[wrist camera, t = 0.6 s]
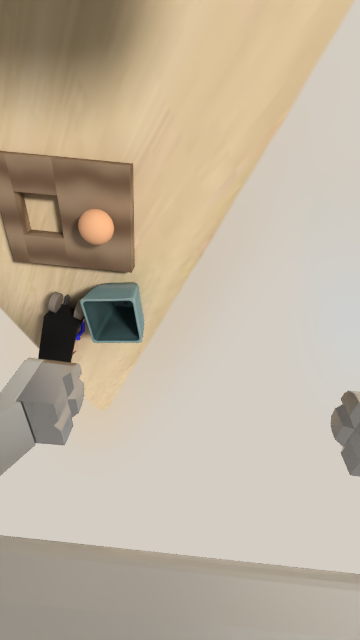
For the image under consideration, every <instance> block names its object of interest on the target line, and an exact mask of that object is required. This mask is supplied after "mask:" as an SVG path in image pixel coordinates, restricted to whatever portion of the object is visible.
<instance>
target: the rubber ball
mask: <svg viewBox="0 0 360 640" xmlns="http://www.w3.org/2000/svg"><path fill="white" fill-rule="evenodd" d="M78 229H79V232H80V234H81V236H82V237H83V239H84V240H86V241H87V242H89V243H91V244H94V245H101V244H104V243H106V242H108V241H109V240H110V239H111V237H112V235H113V232H114V224H113V221H112V219H111V217H110V216H109V215H108V214H107V213H106V212H104V211H102V210H99V209H90V210H87V211H86V212H84V213H83V214H82V215H81V217H80V219H79V222H78Z"/></svg>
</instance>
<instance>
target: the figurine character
mask: <svg viewBox="0 0 360 640" xmlns="http://www.w3.org/2000/svg"><path fill="white" fill-rule="evenodd" d="M69 298H70V297H69V295H66V296H65V300H64V304H62V301H63V294H61V293H58V292H54V293H53V294H52V296H51V298H50V300H49V304H48V310H49V311H48V313H47V314H46V315H45V316H44V320H43V328H42V335H41V343H40V350H39V358H38V359H43V360H54V361H62V362H69V363H71V359H72V355H73V354H74V353H75V351H76V350H77V341H76V340H80V336H81V335H82V333H83V332H84V331H85V326H84V321H85V316H84V313H83V310H82V307H81V304H80V300H81V299H80V300H79V301H78V303H77V305H76V308H73V307H70V306H68V303H69ZM80 325H81V331H80V332H79V333H78V334H77V332H78V328H79V326H80Z"/></svg>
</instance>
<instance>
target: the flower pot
mask: <svg viewBox="0 0 360 640" xmlns="http://www.w3.org/2000/svg"><path fill="white" fill-rule="evenodd" d="M125 301H127V303H125ZM80 304H81V307H82V310H83V313H84V316H85V319H86V322H87V325H88V328H89V332H90V335H91V339H92V341H93V342H94V343H139V342H142V338H143V329H144V316H143V310H142V304H141V299H140V293H139V287H138V284H136V283H133V282H131V283H106V284H101V285H98V286H96V287H94V288H93V289H92V290H91V291H89V292H88V293H87V294H86V295H85V296H84V297H83V298H82V299H81V300H80Z"/></svg>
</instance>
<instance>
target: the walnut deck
mask: <svg viewBox="0 0 360 640" xmlns="http://www.w3.org/2000/svg"><path fill="white" fill-rule="evenodd" d="M23 192H26V193H37V194H47V195H57V198H58V204H59V211H60V217H61V223H62V230H63V233H59V232H49V231H38V230H31V227H30V222H29V218H28V213H27V209H26V204H25V200H24V195H23ZM90 209H99V210H102V211H104V212H106V213H107V214H108V215H109V216H110V217H111V219H112V221H113V224H114V232H113V235H112V237H111V239H110V240H109V241H108V242H106V243H104V244H101V245H94V244H91V243H89V242H87V241H86V240H84V239H83V237H82V236H81V234H80V232H79V229H78V222H79V219H80V217H81V215H82V214H83V213H84V212H86V211H87V210H90ZM0 211H1V215H2V218H3V222H4V226H5V230H6V233H7V237H8V241H9V244H10V248H11V252H12V255H13V259H14V261H21V262H31V263H41V264H51V265H61V266H71V267H81V268H91V269H101V270H111V271H121V272H131V273H132V271H133V268H134V199H133V164H130V163H120V162H109V161H99V160H89V159H78V158H68V157H58V156H47V155H37V154H26V153H16V152H6V151H0Z"/></svg>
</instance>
